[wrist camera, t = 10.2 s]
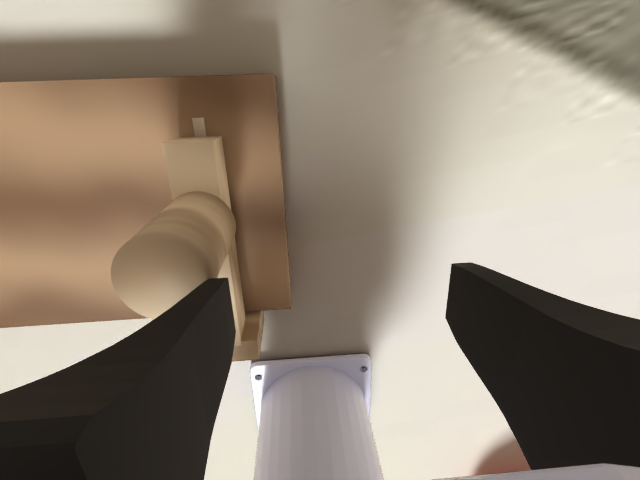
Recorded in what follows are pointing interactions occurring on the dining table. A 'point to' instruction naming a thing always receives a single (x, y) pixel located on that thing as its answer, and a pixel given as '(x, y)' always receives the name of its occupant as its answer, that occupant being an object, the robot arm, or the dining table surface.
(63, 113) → the walnut board
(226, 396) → the dining table surface
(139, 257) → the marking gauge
